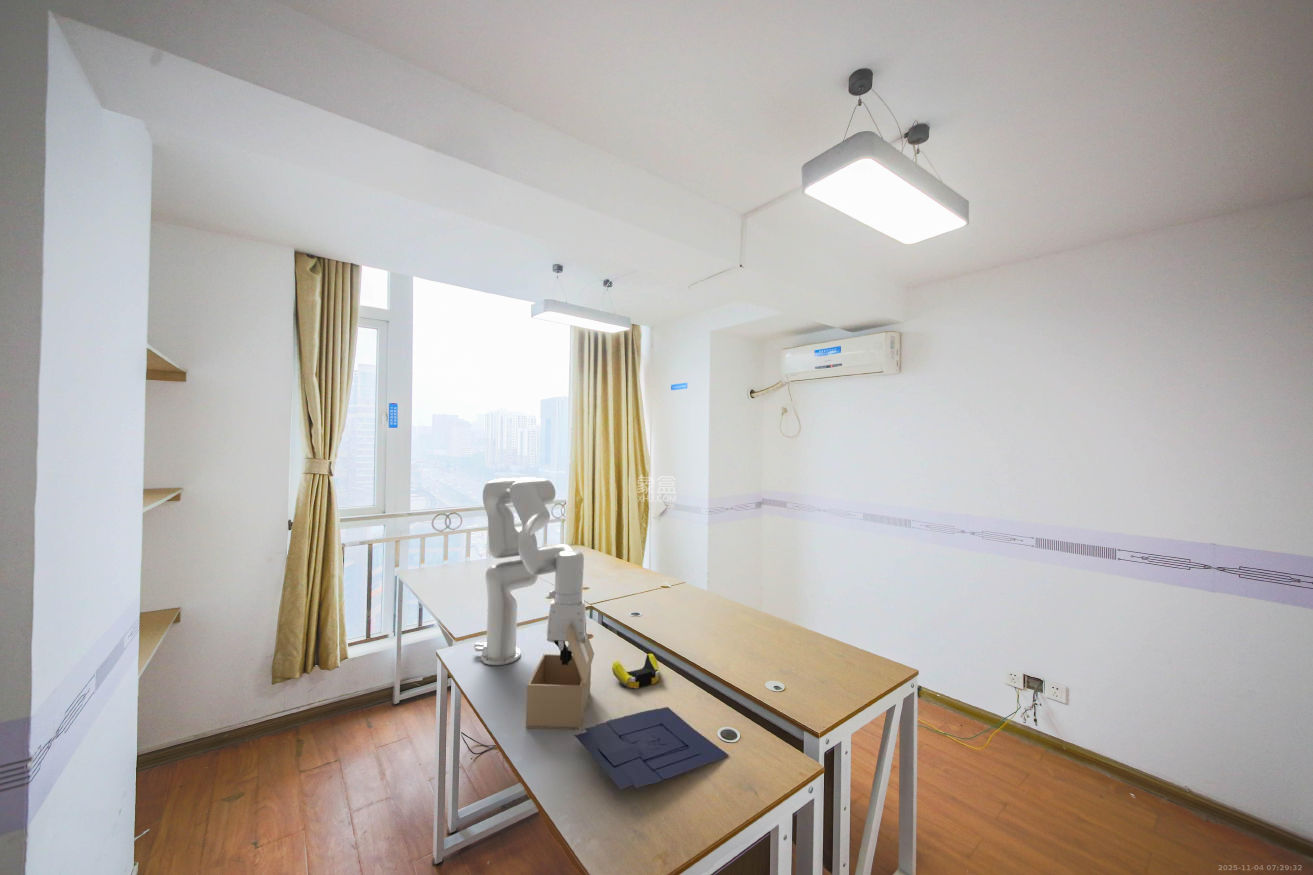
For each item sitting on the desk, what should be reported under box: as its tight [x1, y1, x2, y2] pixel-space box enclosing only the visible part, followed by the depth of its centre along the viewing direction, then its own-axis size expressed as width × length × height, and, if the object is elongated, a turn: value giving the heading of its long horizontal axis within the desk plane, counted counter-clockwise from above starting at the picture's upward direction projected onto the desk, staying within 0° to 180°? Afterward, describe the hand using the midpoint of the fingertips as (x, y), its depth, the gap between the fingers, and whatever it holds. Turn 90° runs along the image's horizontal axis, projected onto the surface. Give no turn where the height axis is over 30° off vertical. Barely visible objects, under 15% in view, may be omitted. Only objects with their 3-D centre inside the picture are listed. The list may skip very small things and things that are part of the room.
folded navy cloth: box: [573, 706, 729, 790], centre depth 111 cm, size 24×30×4 cm
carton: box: [525, 653, 592, 731], centre depth 127 cm, size 14×17×11 cm
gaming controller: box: [611, 653, 661, 689], centre depth 144 cm, size 15×6×10 cm
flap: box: [565, 624, 595, 685], centre depth 127 cm, size 14×17×1 cm
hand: (565, 662), depth 127 cm, fingers closed
